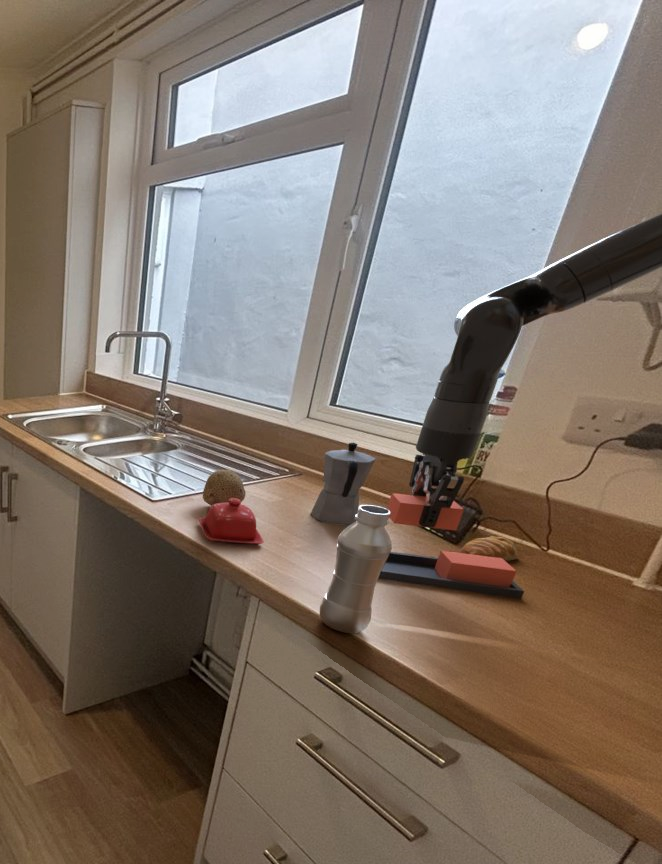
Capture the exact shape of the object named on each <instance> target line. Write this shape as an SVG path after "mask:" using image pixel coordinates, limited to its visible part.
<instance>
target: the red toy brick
mask: <svg viewBox="0 0 662 864" xmlns="http://www.w3.org/2000/svg"><path fill="white" fill-rule="evenodd" d="M425 500H426V497H425V496H415V495H413V494H404V493H396V492H395V493H393V492H392V493H391V494H390V497H389V502H388V503H387V507H386V509H387V510H389V511H390V516H389V519H390V520H391V521H392V523H393V524H397V525H404V526H414V527H422V528H425V527H424V526H421V525H420V524H419V520H420V517H421V514H422V511H423V508H424V505H425ZM439 500H440V499H439ZM464 511H465V508H463V507H462V506H461V505H460V504H459V503H457V502H456V501H455V500H454V501H453V503H452V505H451V507H450V508H441V511H440V514H439V517H438V520H437V522H436V525H435V526H434V527H428V528H430V529H439V530H447V531H457V529H458V527H459V524H460V523H461V518H462V517H463V513H464Z"/></svg>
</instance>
